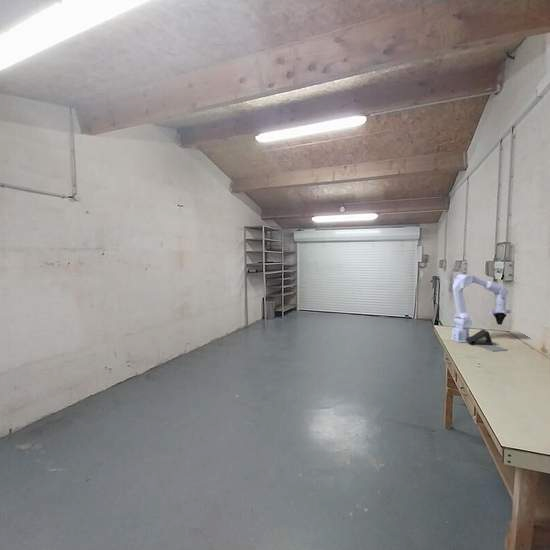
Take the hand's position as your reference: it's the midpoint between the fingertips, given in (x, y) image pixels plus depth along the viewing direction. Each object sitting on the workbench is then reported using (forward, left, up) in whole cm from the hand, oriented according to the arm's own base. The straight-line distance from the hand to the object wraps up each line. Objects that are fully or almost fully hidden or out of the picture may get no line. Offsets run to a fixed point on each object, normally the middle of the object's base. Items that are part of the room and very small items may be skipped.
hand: (499, 324), depth 191 cm
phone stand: (-15, -7, -6) cm, 18 cm away
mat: (-19, -12, -10) cm, 25 cm away
